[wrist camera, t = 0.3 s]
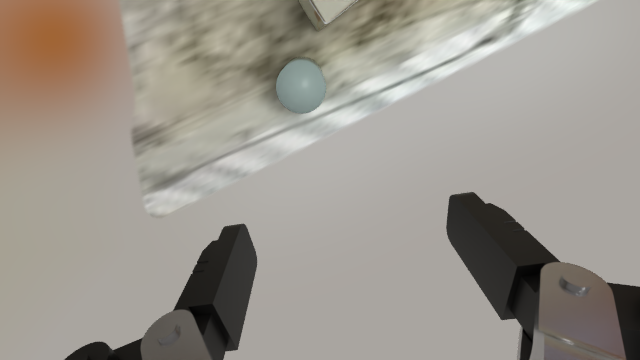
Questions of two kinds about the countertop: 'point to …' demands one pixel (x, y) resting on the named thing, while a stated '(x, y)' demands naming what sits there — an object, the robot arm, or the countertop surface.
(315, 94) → the grey-green rounded block
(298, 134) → the countertop surface
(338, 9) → the skincare box
